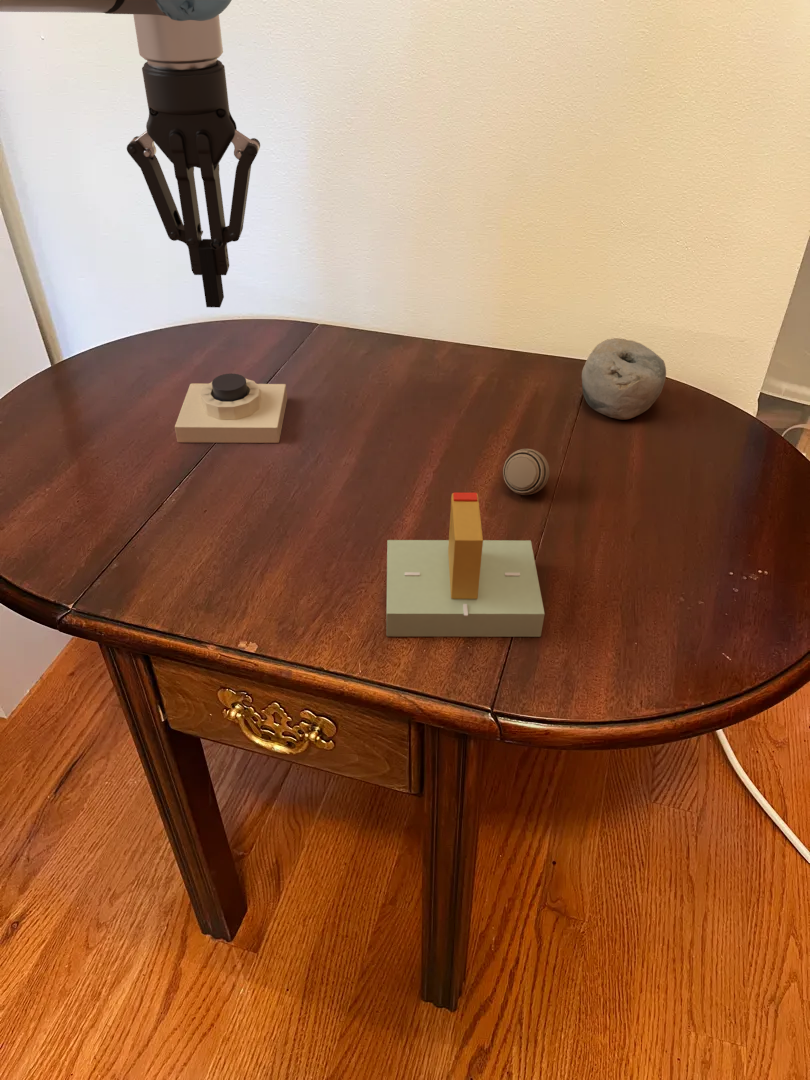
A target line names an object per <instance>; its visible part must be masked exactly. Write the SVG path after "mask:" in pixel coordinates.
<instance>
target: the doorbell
mask: <svg viewBox="0 0 810 1080" xmlns="http://www.w3.org/2000/svg"><path fill="white" fill-rule="evenodd" d="M244 378H245V379H246V384H247V392H248V394H247V396H246V397H244V398H243V399H240V400H237V401H233V402H222V401H219V400H216V399H215V398H214V394H213V387H212V381H211V382H209V383H190V384H189V387H188V389H187V392H186V394H185V397H184V399H183V403H182V406H181V408H180V411H179V414H178V417H177V419H176V422H175V424H174V431H175V432H174V433H175V437H176V441H177V443H210V444H211V443H212V444H213V443H215V444H217V443H221V444H222V443H226V444H227V443H231V444H234V443H235V444H237V443H238V444H242V443H245V444H253V443H254V444H279V443H280V439H281V434H282V429H283V423H284V418H285V413H286V407H287V403H288V392H287V384H286V383H257V382H255V380H252V379H249V378H246V377H244Z"/></svg>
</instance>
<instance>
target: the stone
mask: <svg viewBox="0 0 810 1080" xmlns="http://www.w3.org/2000/svg"><path fill="white" fill-rule="evenodd" d="M666 378H667V367H666V363H665V361H664V359H663V358H662V357H660V355H658V354H657V353H655V351H654V350H652V349H651V348H648V347H647V346H646V345H644V344H642V343H641V342H638V341H635V340H631V339H626V338H618V337H617V338H616V337H613V338H608V339H605V340H603V341H601V342H599V343H597V344H596V346H595V347H594V349H593V350H592V351H591V352H590V354H589V355H588V357H587V359H586V361H585V363H584V365H583V367H582V371H581V388H582V396H583V398H584V400H585V401H586V404H587V405H588V406H589V407H590V408H591V409H592V410H594V411H595V412H597V413H599V414H601V415H603V416H606V417H609V418H612V419H615V420H630V419H633V418H635V417H638V416H640V415H642V414H643V413H645V412H647V411H648V410H649V409H650V408H651V407H652V406H653V404H654V403H655V402H656V401H657V399H658V398H659V397H660V395H661V394H662V391H663V389H664V385H665V383H666Z"/></svg>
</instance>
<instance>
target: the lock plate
mask: <svg viewBox="0 0 810 1080" xmlns="http://www.w3.org/2000/svg"><path fill="white" fill-rule="evenodd" d="M386 541H387V542H386V543H387V544H386V613H385V615H386V618H385V619H386V620H385V621H386V624H385V626H386V637H423V638H424V637H426V638H428V637H432V638H434V637H436V638H437V637H438V638H439V637H444V638H445V637H451V638H452V637H457V638H458V637H462V638H463V637H467V638H468V637H469V638H470V637H471V638H473V637H475V638H476V637H480V638H482V637H484V638H485V637H486V638H487V637H489V638H491V637H493V638H494V637H496V638H497V637H498V638H501V637H502V638H503V637H504V638H505V637H507V638H508V637H511V638H513V637H514V638H517V637H518V638H522V637H523V638H525V637H526V638H527V637H528V638H529V637H530V638H533V637H534V638H540V637H542V630H543V627H544V620H545V615H546V613H545V607H544V603H543V598H542V597H543V596H542V591H541V587H540V582H539V577H538V571H537V566H536V560H535V555H534V551H533V550H534V549H533V544H532V541H531V539H530V540H529V539H528V540H527V539H526V540H525V539H524V540H518V539H517V540H515V539H513V540H511V539H509V540H507V539H504V540H503V539H499V540H496V539H494V540H493V539H490V540H489V539H483V546H482V557H481V567H480V578H479V588H478V598H477V599H451V591H450V574H449V557H448V546H449V539H387V540H386Z"/></svg>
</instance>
